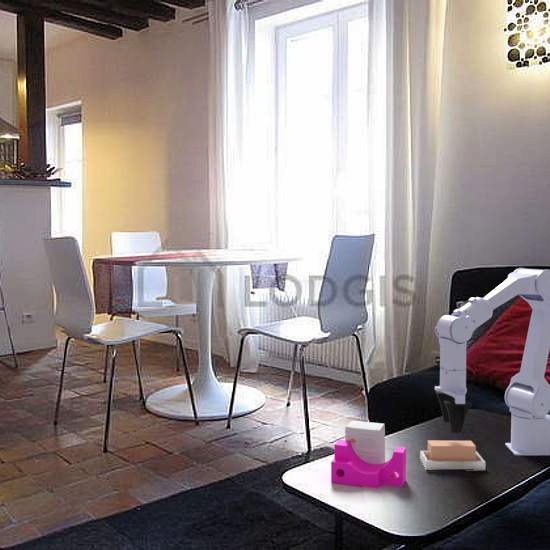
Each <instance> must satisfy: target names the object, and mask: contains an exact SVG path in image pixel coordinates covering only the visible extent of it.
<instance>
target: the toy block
mask: <svg viewBox="0 0 550 550" xmlns="http://www.w3.org/2000/svg"><path fill="white" fill-rule="evenodd" d="M333 455H334V456H333V457H334V458H333V459H332V460H331V461H330V464H331V465H330V470H331V471H330V481H331V483H333V484H334V483H335V484H342V485H348V486H355V487H367V488H373V489H379V488H380V486H381V485H385V486H391V485H392V486H393V487H398V486H403V484H404V485H405V483H406V481H405V480H407V447H406V446H396V447H395V449H393V453H392V456H391V458H389V460H387V461H385V463H382V464H370V463H367V462H365V461H363V460H362V459H361V458H359V457H358V456H357V454H356V453H355V452H354V450H353V448H352V445H351V441H347V440H345V439H338V440H337V441H336V442H335V444H334V453H333ZM404 482H405V483H404ZM392 486H391V487H392ZM403 487H404V486H403Z"/></svg>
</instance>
